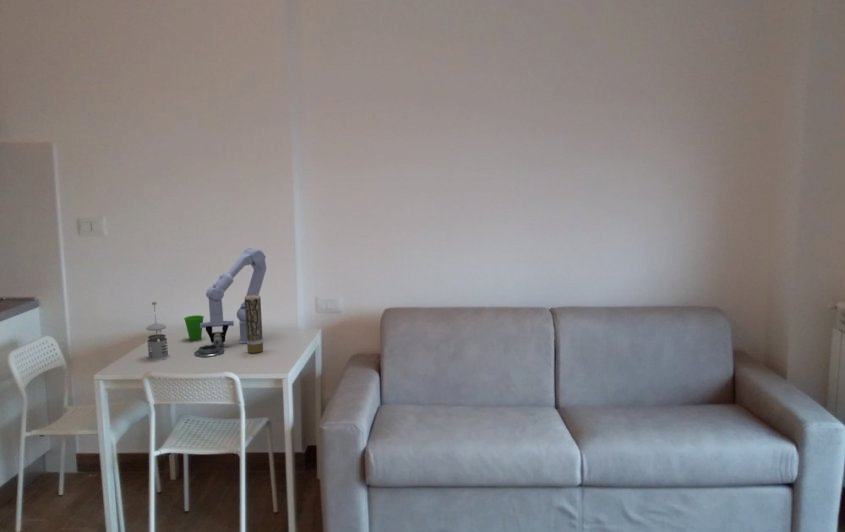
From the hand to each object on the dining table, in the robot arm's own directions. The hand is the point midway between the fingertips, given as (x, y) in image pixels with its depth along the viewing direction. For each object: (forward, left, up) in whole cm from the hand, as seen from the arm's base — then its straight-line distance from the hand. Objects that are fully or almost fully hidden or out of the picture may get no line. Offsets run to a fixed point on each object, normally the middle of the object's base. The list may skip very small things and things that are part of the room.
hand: (218, 341), depth 293 cm
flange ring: (+3, +9, -2) cm, 10 cm away
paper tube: (-17, +12, -3) cm, 21 cm away
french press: (+24, +10, -3) cm, 26 cm away
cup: (+12, -16, -3) cm, 20 cm away
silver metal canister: (0, 0, -2) cm, 2 cm away
